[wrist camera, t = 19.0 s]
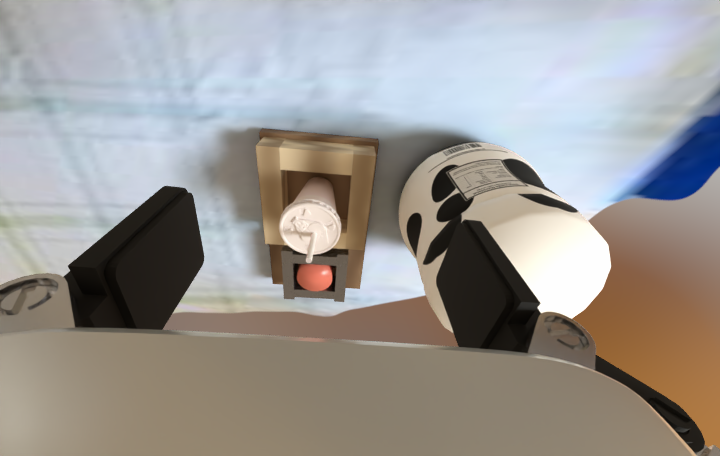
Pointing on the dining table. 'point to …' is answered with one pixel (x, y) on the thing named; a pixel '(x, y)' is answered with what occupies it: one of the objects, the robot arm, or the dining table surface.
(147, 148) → the dining table surface
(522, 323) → the robot arm
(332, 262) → the wooden tray with button
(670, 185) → the dining table surface
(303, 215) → the smoothie
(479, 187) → the milk container
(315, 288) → the button
